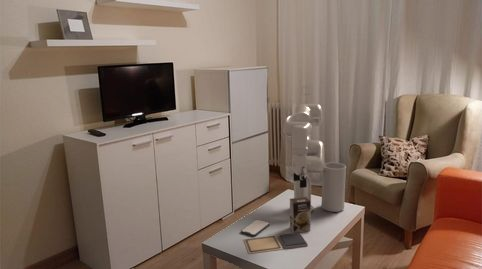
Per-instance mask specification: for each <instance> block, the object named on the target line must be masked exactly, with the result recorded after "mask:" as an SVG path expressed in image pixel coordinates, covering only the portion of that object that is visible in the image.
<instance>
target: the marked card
mask: <svg viewBox="0 0 482 269" xmlns="http://www.w3.org/2000/svg"><path fill="white" fill-rule="evenodd" d="M243 242H244V244H245V247H246V249H247V252H248V254H249V255H251V254H258V253H267V252H273V251H279V250H280V251H281V250H284V249H283V248H284V247H283V245H282V243H281V242H280V240H279V238H278V237H277V236H276V234H275V235H268V236H260V237H251V238H244V239H243Z"/></svg>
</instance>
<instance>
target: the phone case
mask: <svg viewBox="0 0 482 269" xmlns="http://www.w3.org/2000/svg"><path fill="white" fill-rule="evenodd" d="M270 224H271V223H270V222H267V221H264V220H260V219H255V220H253V222H251V223H250V224H248V225H247V226H245V227H243V228H242V229H241V230H240V234H241V235H245V236H247V237H251V238H257V236H258V235H259V234H261V233H262V232H264V230H266V229H267V228H268V227H269V226H270Z"/></svg>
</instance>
